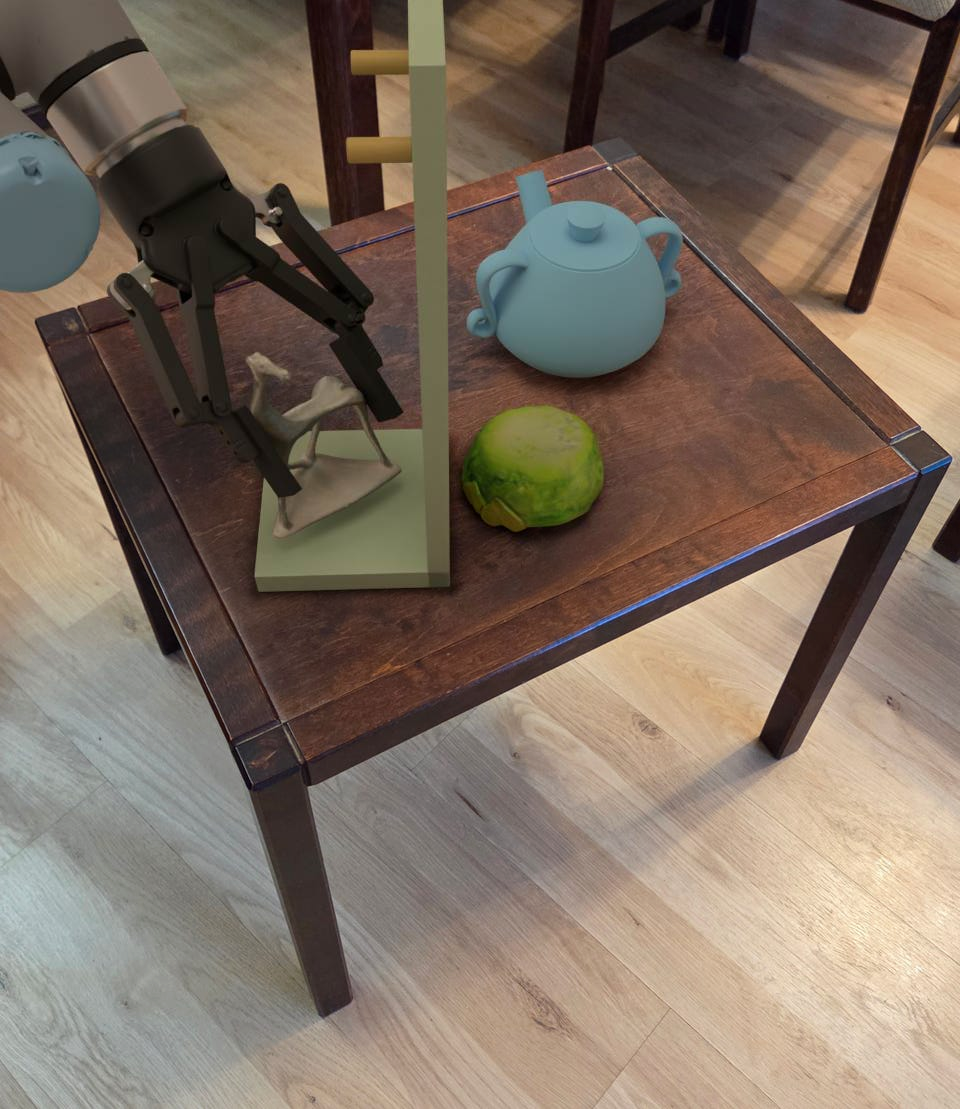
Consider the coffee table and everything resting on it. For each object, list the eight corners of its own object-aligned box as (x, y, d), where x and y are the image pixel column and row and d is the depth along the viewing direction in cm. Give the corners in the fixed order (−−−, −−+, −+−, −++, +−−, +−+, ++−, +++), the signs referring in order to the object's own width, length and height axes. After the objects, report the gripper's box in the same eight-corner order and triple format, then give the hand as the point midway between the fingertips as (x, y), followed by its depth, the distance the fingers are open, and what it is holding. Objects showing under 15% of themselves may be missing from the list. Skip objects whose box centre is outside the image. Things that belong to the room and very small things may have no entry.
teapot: (497, 420, 87) (503, 301, 77) (424, 270, 98) (420, 149, 88) (710, 367, 92) (743, 247, 81) (617, 229, 103) (635, 109, 92)
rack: (258, 592, 77) (115, 67, 45) (271, 448, 85) (159, -84, 53) (449, 587, 78) (445, 65, 45) (444, 444, 86) (438, -84, 53)
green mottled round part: (563, 559, 79) (569, 518, 75) (438, 502, 82) (438, 460, 78) (625, 459, 85) (634, 417, 81) (507, 410, 88) (510, 367, 84)
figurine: (366, 424, 82) (350, 270, 70) (409, 479, 79) (400, 327, 66) (237, 482, 78) (197, 330, 66) (277, 542, 75) (242, 394, 63)
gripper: (254, 104, 73) (424, 381, 80) (-19, 247, 64) (201, 548, 71) (296, 59, 67) (477, 364, 74) (0, 211, 58) (239, 545, 64)
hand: (342, 454), depth 72 cm, fingers closed on figurine, 9 cm apart
